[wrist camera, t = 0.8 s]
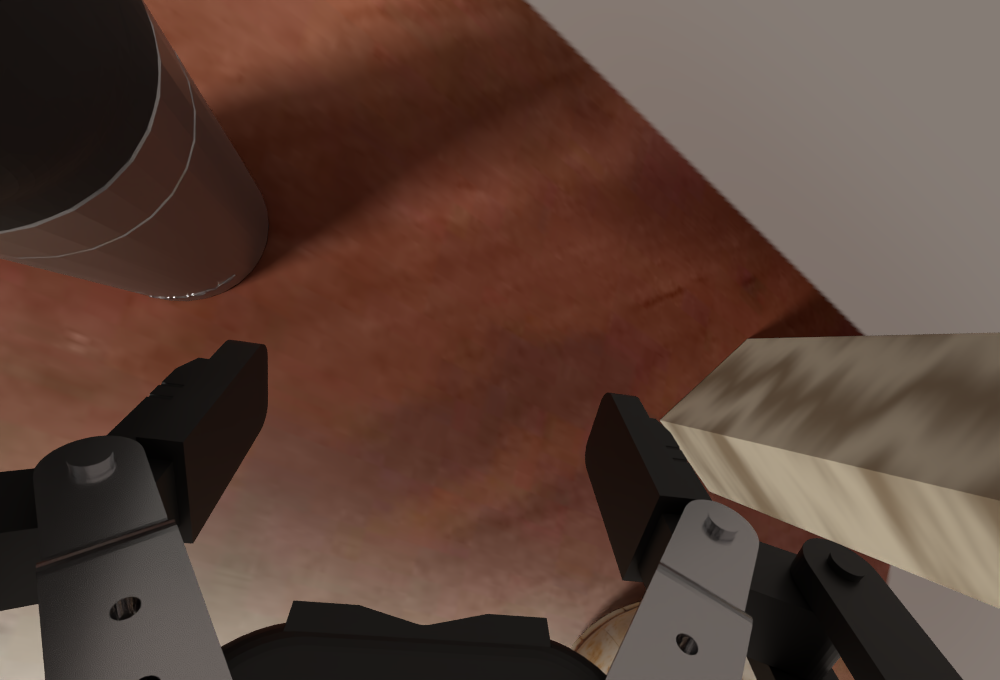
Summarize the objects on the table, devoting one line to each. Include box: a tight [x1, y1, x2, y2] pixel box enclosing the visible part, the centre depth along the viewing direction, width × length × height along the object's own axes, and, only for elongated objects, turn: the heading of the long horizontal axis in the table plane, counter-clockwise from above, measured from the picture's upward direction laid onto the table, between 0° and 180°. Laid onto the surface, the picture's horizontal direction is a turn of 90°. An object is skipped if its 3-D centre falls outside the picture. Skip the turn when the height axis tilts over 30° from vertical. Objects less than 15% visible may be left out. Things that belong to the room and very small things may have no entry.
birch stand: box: [660, 333, 1000, 609], centre depth 23 cm, size 10×7×32 cm
